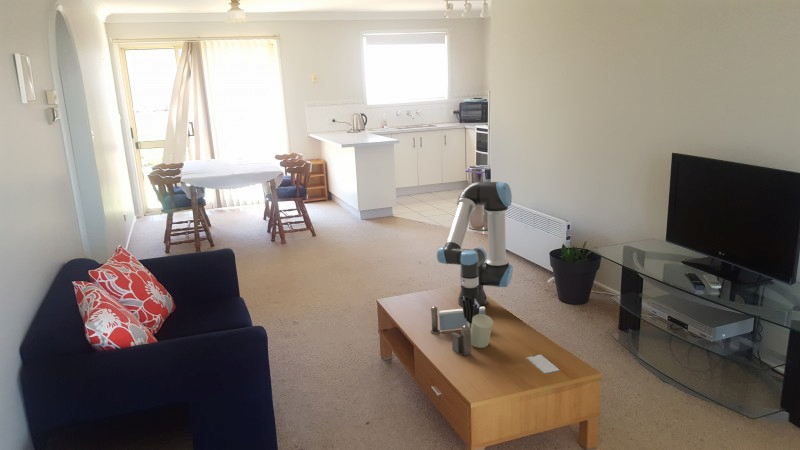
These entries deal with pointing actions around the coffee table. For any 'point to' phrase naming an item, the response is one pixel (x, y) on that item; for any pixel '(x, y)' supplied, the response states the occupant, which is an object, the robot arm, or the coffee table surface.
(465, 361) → the coffee table surface
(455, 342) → the latch post
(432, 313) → the hinge post
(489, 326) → the can
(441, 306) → the coffee table surface
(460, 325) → the gate
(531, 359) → the smartphone
